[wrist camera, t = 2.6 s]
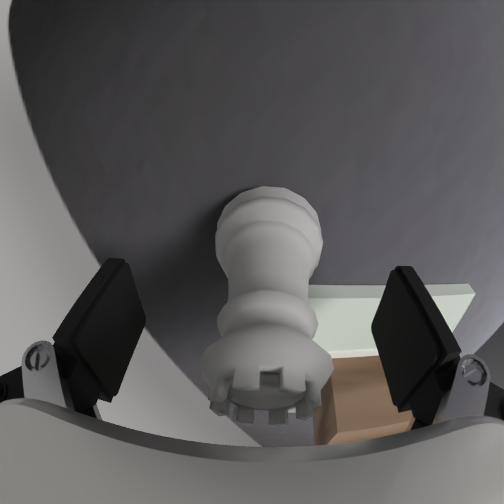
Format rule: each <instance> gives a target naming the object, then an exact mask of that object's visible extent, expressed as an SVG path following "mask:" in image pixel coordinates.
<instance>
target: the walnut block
mask: <svg viewBox="0 0 504 504" xmlns="http://www.w3.org/2000/svg"><path fill="white" fill-rule="evenodd" d="M332 362H333V367H334V370H333V372H332V374H331V375H330V377H329V379H328V381H327V382H326V384H325V385H324V386H323V388H322V389H321V391H320V392H321V403H322V406H316V414H315V415H314V416H313V425H314V446H319V445H330V444H339V443H348V442H355V441H361V440H367V439H373V438H378V437H383V436H388V435H393V434H398V433H402V432H405V431H406V429H407V427H408V425H409V423H410V421H411V418H412V416H413V414H412V411H411V410H409V411H405V412H401V413H398V409H397V406H394V405H393V403H392V399H391V395H390V392H389V388H388V384H387V381H386V377H385V374H384V370H383V367H382V363H381V360H380V357H379V355H377V356H365V357H350V358H332Z"/></svg>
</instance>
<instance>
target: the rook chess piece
mask: <svg viewBox="0 0 504 504" xmlns="http://www.w3.org/2000/svg"><path fill="white" fill-rule="evenodd" d="M322 246H323V240H322V235H321V228H320V224H319V220H318V216H317V213H316V212H315V210H314V209H313V208H312V207H311V206H310V204H309V203H308V202H307V201H306V199H305V198H303V197H301V196H300V195H298V194H296V193H294V192H292V191H290V190H288V189H286V188H279V187H267V186H261V187H258V188H255V189H251V190H248V191H245V192H242V193H240V194H239V195H238V196H236V197H235V198H234V199H233V200H232V201H231V202H229V203H228V204H227V205H226V206H225V208H224V210H223V212H222V214H221V216H220V218H219V220H218V222H217V231H216V233H215V248H216V257H217V259H218V261H219V263H220V265H221V267H222V269H223V271H224V273H225V275H226V276H227V278H228V285H229V295H228V301H227V304H225V305H224V306H223V308H222V310H221V311H220V313H219V315H218V316H217V330H218V332H219V333H220V335H221V336H222V338H221V339H219V340H218V341H216V342H215V343H213V344H212V345H210V346H209V347H207V348H206V350H205V351H204V353H203V354H202V356H201V357H200V359H199V360H198V363H199V368H200V374H201V376H202V377H203V379H204V380H205V382H206V383H207V385H208V386H209V388H210V390H209V396H208V400H210V401H211V402H210V409H211V410H212V411H213V412H214V413H215V414H217V415H218V416H224V415H228V414H229V405H231V406H233V407H235V408H234V417H233V422H235V423H239V424H244V425H249V426H251V425H252V424H253V421H254V411H259V412H269V427H273V426H284V425H288V410H290V409H293V408H296V419H300V420H306V419H308V418H310V417H312V416H314V415H315V414H316V406H322V403H321V392H320V391H321V389H322V388H323V386H324V385H325V384H326V382H327V381H328V379H329V377H330V375H331V374H332V372H333V370H334V367H333V362H332V358H331V355H330V354H329V353H328V352H326V351H325V350H324V349H323V348H322V347H320V346H319V345H318V344H317V343H316V342H314V341H313V340H312V339H313V338H314V336H315V333H316V330H317V327H318V321H317V317H316V313H315V311H314V310H313V309H312V308H311V307H310V306H309V305H308V285H309V279H310V277H311V276H312V275H313V271H314V270H315V268H316V267H317V266H318V263H319V259H320V255H321V250H322Z"/></svg>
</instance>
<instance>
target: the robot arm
mask: <svg viewBox="0 0 504 504" xmlns="http://www.w3.org/2000/svg"><path fill="white" fill-rule="evenodd" d="M145 322H146V317H145V314H144V311H143V308H142V305H141V302H140V299H139V296H138V293H137V290H136V287H135V283H134V280H133V277H132V273H131V270H130V267H129V264H128V263H125V261H124V259H118V258H108V259H107V260H106V261H105V263H104V264H103V265H102V267H101V268H100V269H99V271H98V272H97V273H96V274H95V276H94V277H93V278H92V280H91V281H90V283H89V284H88V285H87V287H86V288H85V290H84V291H83V292H82V294H81V295H80V297H79V298H78V299H77V301H76V302H75V304H74V305H73V307H72V308H71V310H70V311H69V313H68V314H67V316H66V317H65V319H64V320H63V322H62V323H61V325H60V326H59V328H58V329H57V331H56V333H55V334H54V336H53V337H52V338H53V340H54V341H55V343H54V345H52V344H51V343H50V342H47V341H38V342H35V343H34V344H32V345H31V346H30V347H28V348H27V350H26V351H25V353H24V355H23V357H22V366H21V367H18V368H16V369H14V370H12V371H10V372H8V373H6V374H4V375H2V376H0V504H504V390H503V389H502V388H500V387H498V386H496V385H495V384H493V383H491V382H490V372H489V368H488V367H487V365H486V363H485V362H484V361H483V360H482V359H481V358H479V357H478V356H475V355H465V356H463V357H462V358H460V356H459V354H460V352H461V349H460V347H459V345H458V343H457V341H456V339H455V337H454V335H453V334H452V332H451V330H450V328H449V326H448V324H447V323H446V321H445V319H444V317H443V315H442V314H441V312H440V310H439V308H438V307H437V305H436V303H435V302H434V300H433V298H432V297H431V295H430V293H429V292H428V290H427V289H426V287H425V285H424V284H423V282H422V281H421V279H420V278H419V276H418V275H417V273H416V272H415V270H414V269H413V267H411V266H397V267H396V268H395V269H394V270H392V271H391V273H390V275H389V278H388V281H387V284H386V287H385V290H384V292H383V295H382V298H381V301H380V303H379V306H378V308H377V311H376V313H375V316H374V318H373V321H372V324H371V332H372V335H373V338H374V341H375V344H376V347H377V351H378V354H379V357H380V360H381V363H382V367H383V370H384V374H385V377H386V381H387V384H388V388H389V392H390V395H391V399H392V403H393V405H394V406H397V409H398V413H401V412H405V411H409V410H411V411H412V414H413V416H412V418H411V421H410V423H409V425H408V427H407V429H406V431H405V432H402V433H398V434H393V435H388V436H383V437H378V438H373V439H367V440H361V441H355V442H348V443H339V444H330V445H319V446H303V447H244V446H230V445H218V444H209V443H201V442H194V441H187V440H181V439H175V438H169V437H164V436H159V435H155V434H150V433H146V432H141V431H137V430H134V429H129V428H126V427H122V426H119V425H115V424H112V423H109V422H105V421H102V419H101V416H100V413H99V410H98V408H97V405H96V403H97V400H98V399H100V400H103V401H107V402H110V403H111V401H112V398H113V396H116V395H117V394H118V391H119V389H120V386H121V383H122V380H123V378H124V375H125V372H126V370H127V367H128V365H129V362H130V360H131V357H132V355H133V352H134V350H135V348H136V345H137V342H138V340H139V338H140V335H141V333H142V330H143V328H144V326H145Z"/></svg>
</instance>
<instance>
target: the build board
mask: <svg viewBox="0 0 504 504" xmlns="http://www.w3.org/2000/svg"><path fill="white" fill-rule="evenodd" d="M385 287H386V285H308V305H309V306H310V307H311V308H312V309H313V310H314V311H315V313H316V317H317V321H318V327H317V330H316V333H315V336H314V338H313V339H312V340H313V341H314V342H316V343H317V344H318V345H319V346H320V347H322V348H323V349H324V350H325V351H326V352H328V353H329V354H330V355H331V358H350V357H365V356H377V355H379V354H378V351H377V347H376V344H375V341H374V338H373V335H372V332H371V324H372V321H373V318H374V316H375V313H376V311H377V308H378V306H379V303H380V301H381V298H382V295H383V292H384V290H385ZM425 287H426V289H427V290H428V292H429V293H430V295H431V297H432V298H433V300H434V302H435V303H436V305H437V307H438V308H439V310H440V312H441V314H442V315H443V317H444V319H445V321H446V323H447V324H448V326H449V328H450V330H451V332H453V330H454V329H455V327H456V326H457V324H458V322H459V321H460V319H461V318H462V316H463V314H464V313H465V311H466V309H467V308H468V306H469V304H470V302H471V300H472V299H473V297H474V295H475V292H474V291H473V290H472V288H471V287H470V285H469V284H468V283H467V284H436V285H425ZM295 412H296V408H293V409H290V410H288V413H295Z"/></svg>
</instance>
